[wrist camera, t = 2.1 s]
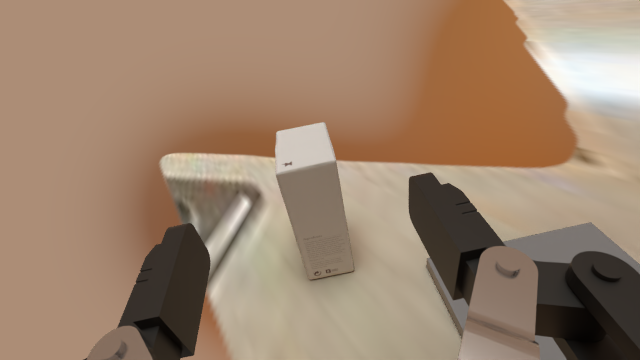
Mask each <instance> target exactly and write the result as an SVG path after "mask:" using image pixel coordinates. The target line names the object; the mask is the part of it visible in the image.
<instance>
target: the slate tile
mask: <svg viewBox="0 0 640 360" xmlns="http://www.w3.org/2000/svg"><path fill="white" fill-rule="evenodd" d="M503 243H504V244H505V245H506V246H507V247H511V248H514V249H517V250H519V251H521V252H523V253H525V254H526V255H527V256H529V257H530V258H531V259H532V260H535V261H542V262H558V263H571V261H572V259H573V258H574V256H575V255H577V254H578V253H581V252H584V251H598V252H603V253H607V254H610V255H613V256H615V257H617V258H619V259H621V260H623V261H625V262H626V263H628V264H629V265H630V266H631V267H633V268H634V269H635V270H636V271H637V272H638V273H639V274H640V264H639V263H637V262H636V261H635V260H634V259H633V258H632V257H630V256H629V255H628V254H627V253H626V252H625V251H623V250H622V249H621V248H620V247H619V246H618V245H617V244H615V243H614V242H613V241H612V240H611V239H610V238H608V237H607V236H606V235H605V234H604V233H603V232H601V231H600V230H599V229H598V228H597V227H596V226H594V225H593V224H592V223H591V222H590V223H586V224H581V225H577V226H572V227H568V228H563V229H559V230H554V231H549V232H545V233H540V234H536V235H531V236H527V237H522V238H518V239H513V240H509V241H504V242H503ZM427 268H428V270H429V272H430V274H431V276H432V278H433V280H434V282H435V284H436V286H437V288H438V290H439V292H440V294H441V296H442V298H443V300H444V302H445V304H446V306H447V308H448V311H449V313H450V315H451V317H452V319H453V321H454V323H455V325H456V327H457V329H458V331H459V333H460V335H461V337H463V332H464V327H465V323H466V318H467V314H468V309H469V306H468V305H467V303H466V301H465V299H464V298H462V299H458V300H452V298H451V296H450V294H449V292H448V290H447V288H446V286H445V285H444V283H443V281H442V279H441V277H440V275H439V273H438V271H437V269H436V267H435V265H434V264H433V262H432V260H431V258H427ZM535 342H537V343H538V344H539V348H540V360H567V359H566V357H565V356H564V354H563V353H562V351H561V350H560V348H559V347H558V345H557V344H556V342H555V341H554V339H553V338H552V337H545V336H537V335H535Z"/></svg>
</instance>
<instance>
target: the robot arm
mask: <svg viewBox="0 0 640 360" xmlns="http://www.w3.org/2000/svg"><path fill="white" fill-rule="evenodd" d="M409 214H410V218H411V221H412V223H413V225H414V227H415V229H416V231H417V233H418V235H419V237H420V239H421V241H422V243H423V245H424V246H425V248H426V250H427V252H428V254H429V256H430V258H431V260H432V262H433V264H434V265H435V267H436V269H437V271H438V273H439V275H440V277H441V279H442V281H443V283H444V285H445V286H446V288H447V290H448V292H449V294H450V296H451V298H452V300H458V299H462V298H464V299H465V301H466V303H467V305H468V306H469V309H468V314H467V318H466V323H465V327H464V332H463V337H462V341H461V346H460V350H459V355H458V360H540V348H539V344H538V343H537V342H535V335H537V336H545V337H552V338H553V339H554V341H555V342H556V344H557V345H558V347H559V348H560V350H561V351H562V353H563V354H564V356H565V357H566V359H567V360H640V274H639V273H638V272H637V271H636V270H635V269H634V268H633V267H631V266H630V265H629V264H628V263H626V262H625V261H623V260H621V259H619V258H617V257H615V256H613V255H610V254H607V253H603V252H598V251H584V252H581V253H578V254H577V255H575V256H574V258H573V259H572V261H571V263H558V262H542V261H535V260H532V259H531V258H530V257H529V256H527V255H526V254H525V253H523V252H521V251H519V250H517V249H514V248H511V247H507V246H506V245H505V244H504V243H503V242H502V241H501V239H500V238H499V237H498V236H497V234H496V233H495V232H494V231H493V229H492V228H491V227H490V226H489V224H488V223H487V222H486V221H485V219H484V218H483V217H482V216H481V214H480V213H479V212H477V209H476V208H475V207H474V206H473V204H472V203H470V201H469V199H468V198H467V197H466V196H465V194H464V193H463V192H462V191H461V190H459V189H458V188H456V187H454V186H453V185H451V184H449V183H447V184H443V185H441V184H440V183H439V181H438V180H437V179H436V177H435V176H434V175H433V174H432V173H426V174H421V175H416V176H412V177H410V178H409ZM209 270H210V256H209V252H208V250H207V248H206V246H205V245H204V243H203V241H202V240H201V238H200V236H199V234H198V233H197V231H196V229H195V227H194V226H193V225H192V224H191V223H188V224H183V225H178V226H174V227H169V228H168V229H167V231H166V232H165V235H164V238H163V241H162V243H161V244H158V245H156V246H155V247H154V248H153V249H152V250H151V252H150V253H149V254H148V255H147V256H146V258H145V261H144V263H143V265H142V268H141V270H140V271H141V273H139V275H138V278H137V280H136V284H135V285H134V288H133V290H132V293H131V295H130V298H129V300H128V303H127V305H126V308H125V310H124V313H123V315H122V318H121V320H120V323H119V325H118V327H117V328H116V329H114V330H112V331H111V332H109V333H108V334H106V335H105V336H104V337H102V338H101V339H100V340H99V341H98V342H97V344H96V345H95V346H94V347H93V349H92V350H91V352H90V354H89V356H88V358H86V359H84V360H180V358H183V357H188V356H193V355H194V351H195V345H196V341H197V335H198V330H199V324H200V319H201V314H202V308H203V303H204V297H205V292H206V287H207V281H208V276H209Z"/></svg>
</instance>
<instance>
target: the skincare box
mask: <svg viewBox="0 0 640 360" xmlns="http://www.w3.org/2000/svg"><path fill="white" fill-rule="evenodd" d="M275 155H276V177H277V181H278V184H279V187H280V191H281V194H282V197H283V200H284V203H285V206H286V209H287V212H288V216H289V219H290V222H291V225H292V228H293V231H294V234H295V237H296V241H297V244H298V247H299V250H300V253H301V256H302V260H303V263H304V266H305V269H306V272H307V275H308V278H309V279H310V280H311V279H317V278H322V277H326V276H332V275H336V274H341V273H347V272H352V271H354V264H353V258H352V253H351V247H350V241H349V235H348V229H347V222H346V217H345V211H344V205H343V199H342V193H341V187H340V181H339V175H338V169H337V163H336V158H335V154H334V150H333V146H332V144H331V141H330V138H329V134H328V131H327V128H326V124H325V122H322V123H317V124H312V125H308V126H302V127H297V128H292V129H288V130H282V131H278V132H277V133H276V147H275Z"/></svg>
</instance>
